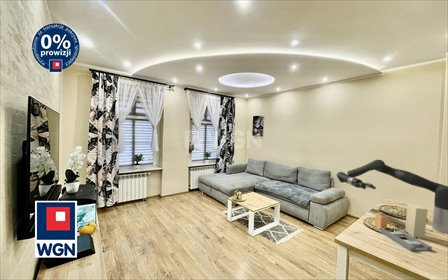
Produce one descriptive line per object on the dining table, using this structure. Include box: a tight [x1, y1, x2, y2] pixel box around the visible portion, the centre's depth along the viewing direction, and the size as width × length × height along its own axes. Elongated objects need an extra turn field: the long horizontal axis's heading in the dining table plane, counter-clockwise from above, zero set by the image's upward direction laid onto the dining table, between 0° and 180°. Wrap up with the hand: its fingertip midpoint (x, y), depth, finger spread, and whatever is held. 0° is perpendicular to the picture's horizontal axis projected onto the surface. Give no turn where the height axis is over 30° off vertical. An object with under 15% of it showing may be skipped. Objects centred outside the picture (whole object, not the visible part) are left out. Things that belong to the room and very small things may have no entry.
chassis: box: [380, 228, 433, 252], centre depth 123 cm, size 20×14×2 cm
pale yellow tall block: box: [404, 203, 428, 239], centre depth 130 cm, size 8×7×21 cm
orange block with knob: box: [374, 211, 389, 230], centre depth 139 cm, size 5×5×11 cm
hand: (370, 188), depth 149 cm, fingers open, 8 cm apart
